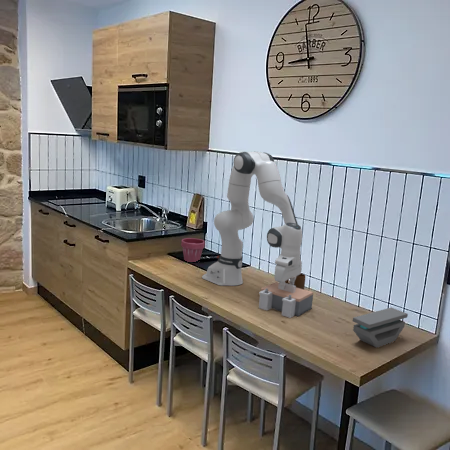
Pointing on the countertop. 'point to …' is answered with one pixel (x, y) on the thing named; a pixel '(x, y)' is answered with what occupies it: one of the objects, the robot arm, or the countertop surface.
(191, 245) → the plant pot
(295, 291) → the door
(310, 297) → the cabinet
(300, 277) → the mug
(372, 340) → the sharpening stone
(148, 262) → the countertop surface
